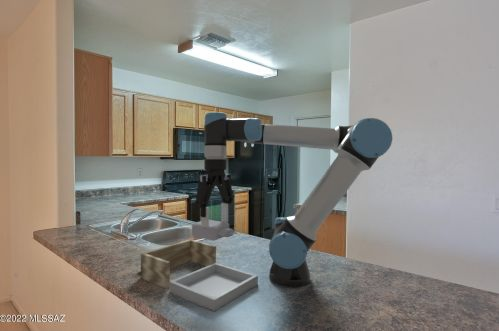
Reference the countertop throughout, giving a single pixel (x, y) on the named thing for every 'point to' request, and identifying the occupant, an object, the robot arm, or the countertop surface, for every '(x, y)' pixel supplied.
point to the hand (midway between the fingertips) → (215, 224)
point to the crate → (174, 259)
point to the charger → (212, 230)
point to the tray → (213, 285)
